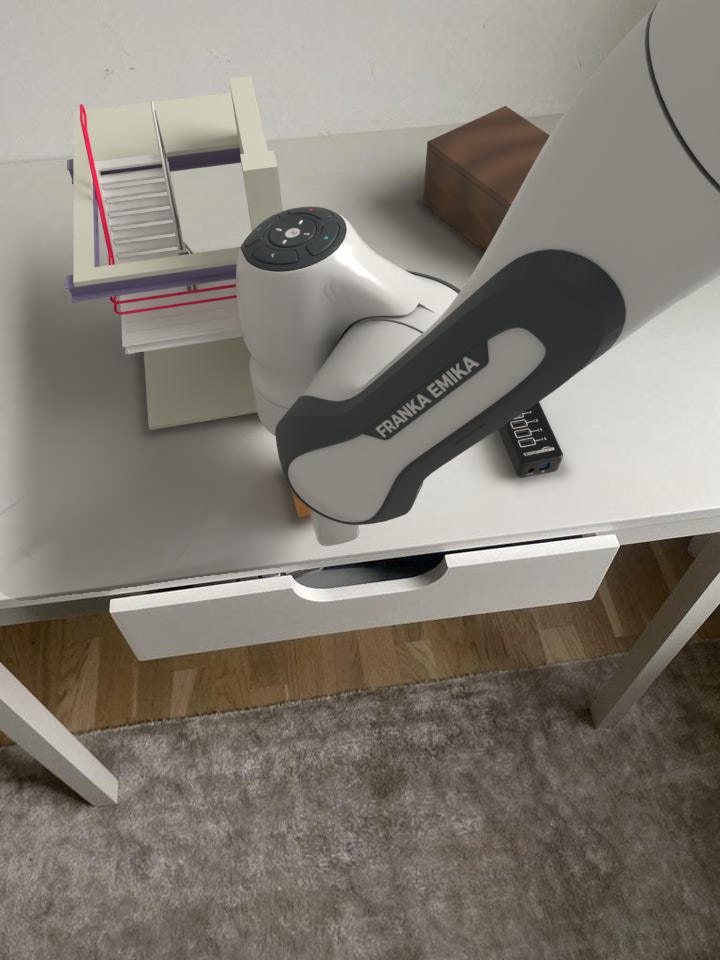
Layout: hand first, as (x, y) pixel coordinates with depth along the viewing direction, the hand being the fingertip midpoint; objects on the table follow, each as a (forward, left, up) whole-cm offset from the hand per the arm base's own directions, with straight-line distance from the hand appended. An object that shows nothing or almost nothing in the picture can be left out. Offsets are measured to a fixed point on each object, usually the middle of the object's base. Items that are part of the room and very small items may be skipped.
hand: (317, 482), depth 74 cm
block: (0, 0, -2) cm, 2 cm away
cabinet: (-32, -35, -2) cm, 48 cm away
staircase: (+8, -23, -2) cm, 25 cm away
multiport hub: (-22, -3, -2) cm, 22 cm away
